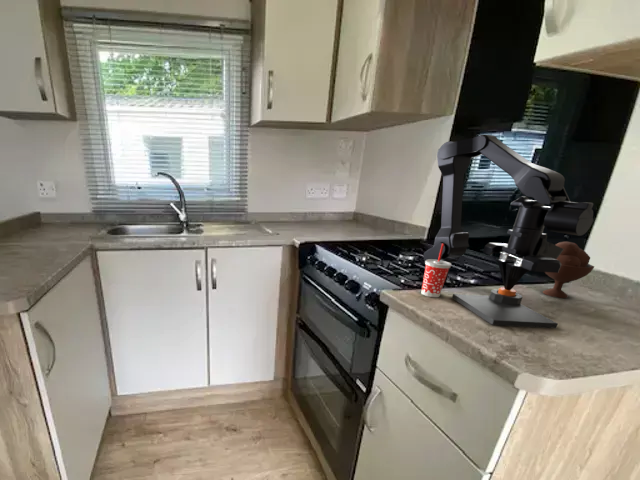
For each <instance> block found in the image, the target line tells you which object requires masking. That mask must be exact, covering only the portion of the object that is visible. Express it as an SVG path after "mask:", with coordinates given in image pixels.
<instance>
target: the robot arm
mask: <svg viewBox="0 0 640 480" xmlns="http://www.w3.org/2000/svg"><path fill="white" fill-rule="evenodd" d="M480 156H483V157H485V158H486V159H487V160H489V161H490V162H492V163H493V164H494V165H496V166H497V167H498V168H499V169H501V170H502V171H503V172H505V173H506V174H507V175H509V176H510V177H511V178H512V179H513V182H514V184H515V186H516V188H517V189H518V190H519V191H520V193H521V194H522V195H521V196H520V197H518V198H517V199H516V200H513V201H511V202H510V206H511V207H518V211H517V214H516V218H515V221H514V224H513V227H512V229H507V232H506V234H507V235H510V237H509V239H508V242H507V243H504V242H503V243H502V242H488V243H486V244H485V245H484V247H483V251H482V253H483V254H486V255H488V256H491V255H493V254H500V255H499V257H498V258H496V259H495V262H496V263H497V265H498V269H499V271H500V275H501V279H502V283H503V287H504V288H505V289H506V290H511V289H514V287H515V286H516V285H517V283H518V282H519V281H520V280H521V278H523V277H524V276H525V274H527V273H528V272H536V273H545V272H553V273H558V272H559V270H560V267H561V263H560V261H559V260H557V258H558V257H559V255H560V254H561V253H562V251H563V250H564V249H563V248H561V247H558V246H556V244H554V243H552V242H550V241H547V239H548V233H544V229H545V227H546V229H547V230H548V231H549V232H554V233H560V234H567V235H573V236H579V237H580V236H584V235H585V234H586V233H587V232H588V231H589V229H590V228H591V226H592V224H593V222H594V210H593V206H594V203H593V202H586V201H585V202H584V201H583V202H580V201H579V202H577V201H576V202H575V201H571V200H570V198H569V195H568V193H567V191H566V189H565V181H566V178H565V177H564V175H562V173H560V172H557V171H555V170H552V169H550V168H548V167H545V166H541V165H538V164H535V163H534V162H533V163H532V162H531V161H529V160H528V159H527V158H525V157H524V156H522V155H521V154H520V153H518V152H517V151H515V150H514V149H512V148H511V147H509V146H508V145H507V144H505V143H504V142H502V141H501V140H500V139H499V138H498V137H497V136H496V135H491V134H479V135H478V136H474V137H470V138H465V139H461V140H457V141H452V140H451V141H449V140H448V141H446V142H444V143H443V144H442V145H441V146H440V147H439V148H438V150H437V153H436V160H437V167H438V169H439V171H440V173H441V175H442V197H441V198H442V199H441V220H440V229H439V230H438V232H437V234H436V235H435V237H434V242H433V246H432V247H429V249H427V250H426V251H424V252H423V260H424V261H426V260H428V259H434V260H438V258H439V254H440V250H441V246H442V243H444V246H443V250H442V254H441V258H440V260H442V261H446V262H449V263H451V264H452V263H457V262H458V261H459V259H460V258H461V257H462V256H463V255H464V254H465V253H466V252H467V249H468V248H470V244H469V238H470V233H469V232H464V230H463V228H462V212H463V211H462V210H463V192H464V191H463V190H464V175H465V174H466V171H467V170H468V168H469V166H470V164H471V159H475V158H477V157H480ZM533 199H534V200H533ZM547 205H548V206H547ZM549 205H550V206H549ZM450 268H451V267H450ZM450 268H449V270H448V273H447V276H446V279H445V282H444V285H446V284H447V285H451V284H452V281H450V280H448V278H449V273H450V270H451V269H450ZM420 278H422V279H423V278H424V274H421V275H420Z"/></svg>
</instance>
